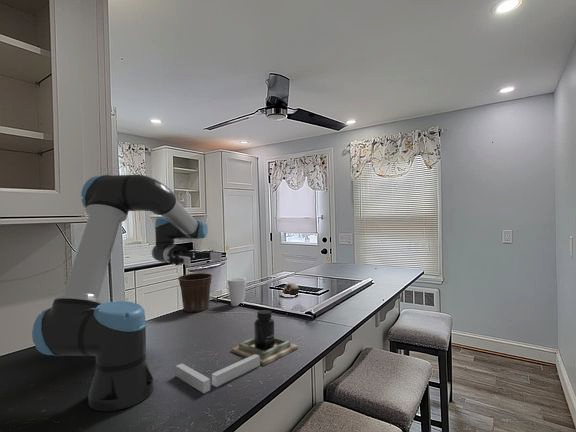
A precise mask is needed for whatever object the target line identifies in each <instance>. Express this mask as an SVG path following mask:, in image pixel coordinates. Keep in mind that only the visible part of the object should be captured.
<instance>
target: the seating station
mask: <svg viewBox="0 0 576 432" xmlns="http://www.w3.org/2000/svg"><path fill="white" fill-rule="evenodd" d="M297 349H299V345H298V344H295V343H292V342H291V341H289V340H288V339H285V338H281V337H278V336H275V335H274V347H273V348H271V349H269V350H265V351H262V350H260V349H257V348H255V341H254V337H252V338H250V339H247V340H244V341H242V342H240V343H239V344H238V345H237V346H234V347H231V352H233V353H235V354H238V356H239V355H240V356H241V357H244V358H248V357H250V356H252V355H254V354H256V355H259V356H260V364H261V365H263V366H266V365H269V364H270V363H272V362H273V361H276V360H278V359H279V358H282V357H284V356H286V355H288V354H290V353H291V352H294V351H296V350H297Z"/></svg>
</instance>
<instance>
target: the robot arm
mask: <svg viewBox="0 0 576 432" xmlns="http://www.w3.org/2000/svg"><path fill="white" fill-rule="evenodd" d="M80 194H81V196H80V197H82V199H81V203H82V205H83V207H84V208H85V209H84V211H85V213H86V214H87V216H88V218H87V221H86V223H85V226H84V230H83V233H82V235H81V240H80V241H79V244H78V248H77V251H76V254H75V257H74V260H73V263H72V265H71V269H70V272H69V274H68V278H67V281H66V283H65V287H64V290H63V293H62V294H60V295H59V296H57V297H55V298H54V299H53V303H52V305H51V307H50V308H47V309H45V310H43V311H42V312H41V313H39V315H38V314H37V317H36V318H35V320H34V322H33V325H32V332H31V337H32V342H33V344H34V347H35V348H36V350H37V351H38V352H39V353H41V354H42V355H47V356H55V357H64V356H65V357H67V356H70V357H71V356H72V357H73V356H74V357H75V356H77V357H78V356H79V357H83V356H85V357H95V372H94V376H93V378H92V382H91V385H90V388H89V390H88V391H89V392H88V395H87V397H88V399H87V400H88V406H89V408H91V409H92V410H95V411H98V412H115V411H120V410H123V409H124V410H125V409H127V408H130V407H134V406H135V405H137V404H140V403H141V402H143V401H144V400H146V399H147V398H149V397H150V396H151V394H152V393H153V391H154V388H155V381H154V376H153V374H152V372H151V368H150V366H149V364H148V361H147V345H146V344H147V339H146V338H147V334H146V333H147V332H146V329H147V327H146V326H147V320H146V314H145V309H144V307H143V306H142V305H140V304H138V303H136V302H132V301H125V300H123V301H121V300H118V301H108V302H103V303H102V301H101V299H100V295H101V290H102V286H103V283H104V281H105V277H106V273H107V269H108V267H109V262H110V258H111V255H112V253H113V252H112V251H113V247H114V244H115V240H116V237H117V234H118V230H119V226H120V224H121V223H123V222H125V221H126V220H127V217H128V214H129V212H141V211H143V212H144V211H145V212H151V213H153V214H155V215H157V216H161V217H157V218H155V223H154V224H155V225H154V230H155V231H154V232H155V245H154V246H153V247H152V250H151V256H152V258H153V259H154V260H156V261H158V262H161V263H168V264H169V265H174V266H181V265H182V266H183V265H185V266H191V261H196V260H199V259H200V260H202V259H203V260H204V259H205V260H206V259H210V260H213V261H222V256H223V255H222V252H217V251H214V250H211V251H199V250H194V251H193V250H192V251H191V250H189V249H188V248H187V247H185V246H182V245H181V246H179V245H175V240H179V239H180V240H182V239H183V240H186V239H188V240H196V239H197V240H198V239H200V240H201V239H205V238H206V237H207V235H208V224H207V223H206V221H201V220H198V221H197V219H195V218H194V217H193V215H192V214H191V213H190V212H189V211H187V210H186V209H185V207H184V206H183V205H182V204H181V203H180V202H179V201H178V200H177V196H176V194H175V192H173V191H172V189H170V188H169V186H167V185H165V184H164V183H162V182H160V181H158V180H157V179H156V178H152V177H150V176H148V175H144V174H143V175H142V174H123V175H122V174H121V175H120V174H118V175H115V174H114V175H110V174H103V175H102V174H101V175H95V176H92V177H90V178H88V179H87V180H86V182H85V183H84V184H83V187H82V189H81V192H80Z"/></svg>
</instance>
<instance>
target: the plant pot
mask: <svg viewBox="0 0 576 432" xmlns="http://www.w3.org/2000/svg"><path fill="white" fill-rule="evenodd" d="M212 278H213V275H212V274H211V273H188V274H183V275H181V276H178V277H177V280H178V281H179V287H180V292H181V300H182V307H183V309H182V310H183V312H186V313H193V312H196V313H200V312H203V311H206V310H208V309H209V308H210V293H211V292H210V291H211V283H212Z"/></svg>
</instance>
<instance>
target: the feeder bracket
mask: <svg viewBox="0 0 576 432" xmlns="http://www.w3.org/2000/svg"><path fill="white" fill-rule="evenodd" d="M260 366H261V365H260V356H259V355H256V354H254V355H252V356H250V357H248V358H246V357H244V358H243V359H241V360H238V361H237V362H235V363H233V364H230V365H228V366H225V367H224V368H221V369H219V370H217V371H214V372H213V373H211V378H209V377H207V376H206V375H204V374H202V373H200V372H198V371H196V370H195V369H193V368H191V367H190V366H187V365H186V364H184V363H180V364H178V365H175V377H177V378H179V379H180V380H181V381H183V382H185V383H186V384H188V385H189V386H191V387H193V388H194V389H196V390H198V391H199V392H201V393H202V394H206V393H208V392H210V391H211V385H212V386H214V387H215V388H218V387H220V386H222V385H224V384H225V383H227V382H229V381H231V380H234V379H236V378H238V377H240V376H242V375H244V374H246V373H248V372H250V371H252V370H254V369H256V368H258V367H260Z"/></svg>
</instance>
